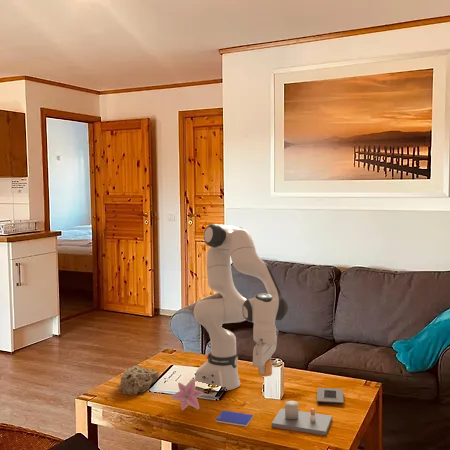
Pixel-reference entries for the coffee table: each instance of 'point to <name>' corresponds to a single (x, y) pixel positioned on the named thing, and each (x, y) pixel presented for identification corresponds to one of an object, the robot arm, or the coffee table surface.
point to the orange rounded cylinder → (266, 369)
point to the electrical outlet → (330, 395)
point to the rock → (137, 379)
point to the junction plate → (301, 420)
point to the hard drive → (234, 418)
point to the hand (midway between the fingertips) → (265, 369)
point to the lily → (187, 395)
